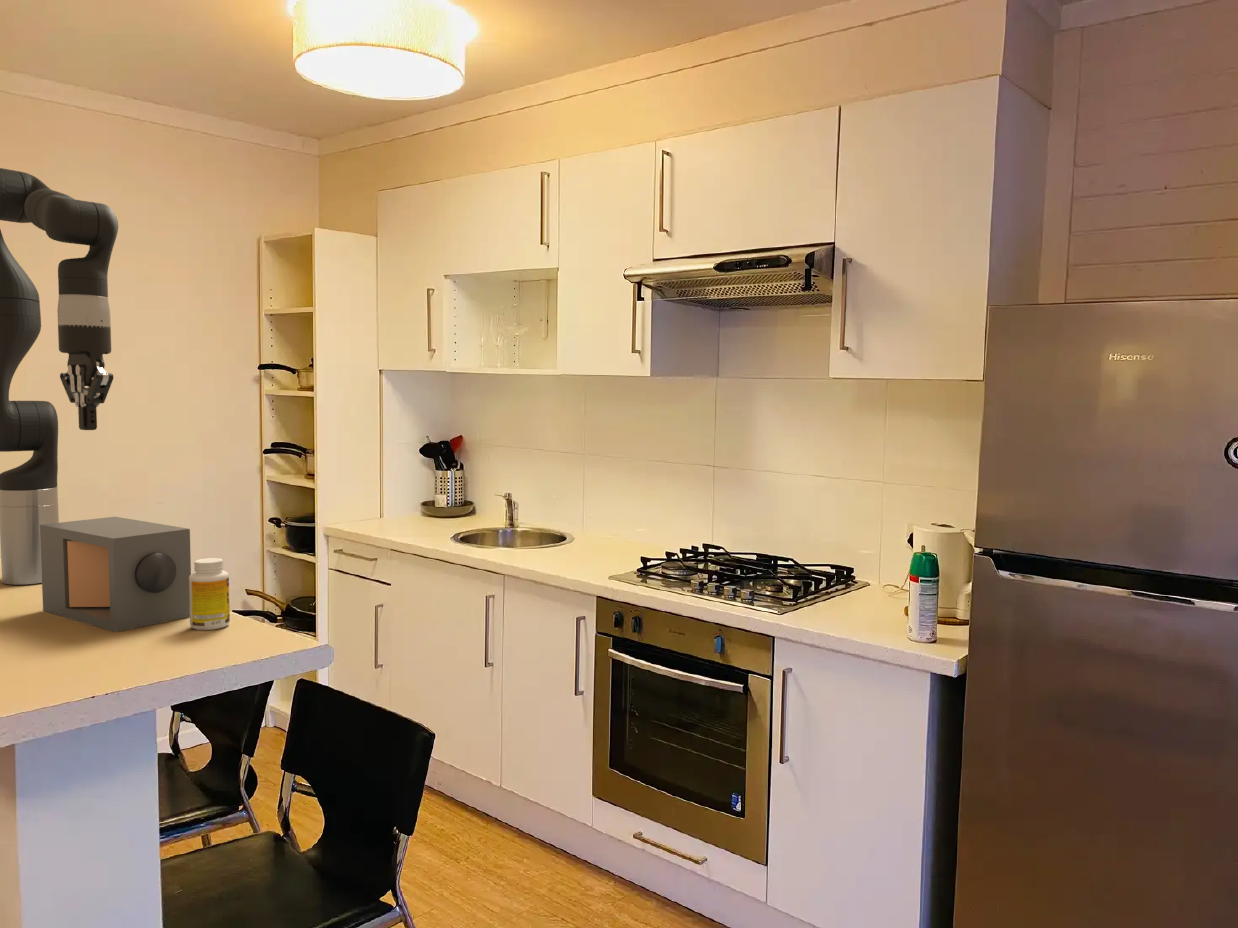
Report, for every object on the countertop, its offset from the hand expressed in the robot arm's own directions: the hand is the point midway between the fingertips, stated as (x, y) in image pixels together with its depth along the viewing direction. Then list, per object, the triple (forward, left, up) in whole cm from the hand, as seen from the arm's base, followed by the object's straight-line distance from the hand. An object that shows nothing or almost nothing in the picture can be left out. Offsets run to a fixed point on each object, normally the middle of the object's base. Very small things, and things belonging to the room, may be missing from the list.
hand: (87, 429), depth 153 cm
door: (+13, -4, -27) cm, 30 cm away
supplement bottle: (+30, +2, -29) cm, 42 cm away
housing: (+11, -2, -29) cm, 31 cm away
